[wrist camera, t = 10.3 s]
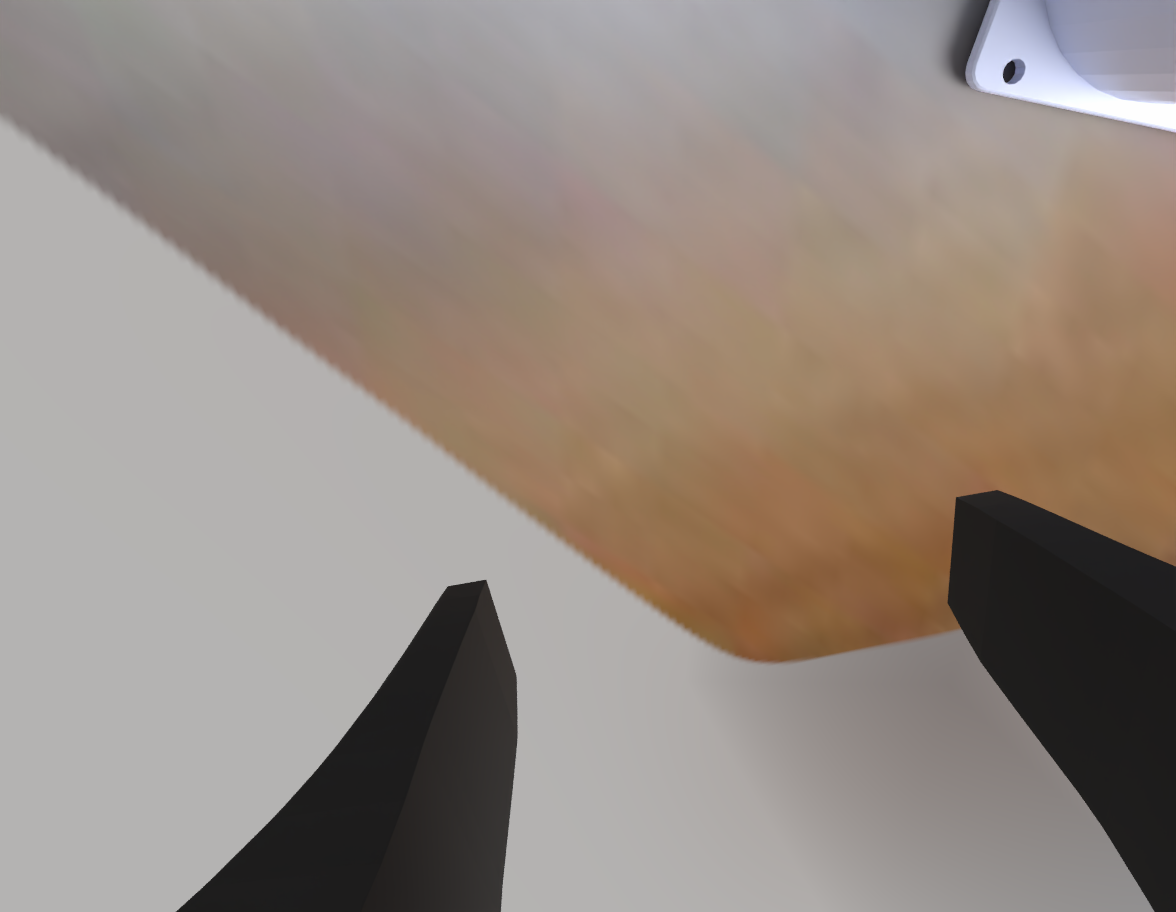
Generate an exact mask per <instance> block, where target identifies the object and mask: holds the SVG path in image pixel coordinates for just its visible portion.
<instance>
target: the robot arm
mask: <svg viewBox="0 0 1176 912" xmlns="http://www.w3.org/2000/svg"><path fill="white" fill-rule="evenodd" d="M1011 60H1012V61H1013V62H1014V64H1015V67H1016V69H1015V74H1014V76H1013V77H1012V79H1011V80H1010V81H1009V82H1007V83H1006V82H1004V79H1003V70H1004V68H1005V66H1006V65H1007V63H1008V62H1010V61H1011ZM965 75H966V81H967V83H968V84H969V86H970V87H971V88H972V89H974V90H976V91H980V92H985V93H989V94H994V95H999V96H1004V97H1008V98H1013V99H1018V100H1023V101H1027V102H1032V103H1037V104H1042V105H1047V106H1051V107H1056V108H1061V109H1066V110H1070V111H1075V112H1080V113H1085V114H1089V115H1094V116H1099V117H1104V118H1108V119H1113V120H1118V121H1123V122H1127V123H1132V124H1137V125H1142V126H1146V127H1151V128H1156V129H1161V130H1165V131H1170V132H1175V133H1176V0H990V3H989V6H988V8H987V11H986V14H985V16H984V19H983V22H982V25H981V27H980V30H979V33H978V35H977V38H976V41H975V44H974V46H973V49H972V52H971V54H970V57H969V60H968V62H967V67H966V72H965ZM948 604H949V606H950V608H951V610H952V612H953V614H954V616H955V617H956V619H957V621H958V623H959V625H960V627H961V629H962V630H963V632H964V634H965V636H966V638H967V639H968V641H969V643H970V644H971V646H972V648H973V649H974V651H975V653H976V655H977V656H978V658H979V660H980V662H981V663H982V664H983V666H984V667H985V668H986V670H987V671H988V673H989V674H990V675H991V677H992V678H993V679H994V681H995V682H996V684H997V685H998V686H999V688H1000V689H1001V690H1002V692H1003V693H1004V694H1005V696H1006V697H1007V698H1008V700H1009V701H1010V702H1011V704H1012V705H1013V707H1014V708H1015V709H1016V711H1017V712H1018V713H1019V714H1020V716H1021V717H1022V718H1023V720H1024V721H1025V722H1026V724H1027V725H1028V726H1029V728H1030V729H1031V730H1032V732H1033V733H1034V734H1035V736H1036V737H1037V738H1038V740H1039V741H1040V742H1041V744H1042V745H1043V746H1044V748H1045V749H1046V750H1047V752H1048V753H1049V754H1050V756H1051V757H1052V758H1053V759H1054V761H1055V762H1056V764H1057V765H1058V766H1059V768H1060V769H1061V770H1062V771H1063V773H1064V774H1065V775H1066V777H1067V778H1068V779H1069V781H1070V782H1071V783H1072V785H1073V786H1074V787H1075V788H1076V790H1077V791H1078V793H1079V794H1080V795H1081V797H1082V798H1083V800H1084V801H1085V803H1086V804H1087V805H1088V807H1089V808H1090V810H1091V811H1092V813H1093V814H1094V815H1095V817H1096V818H1097V820H1098V821H1099V822H1100V824H1101V825H1102V827H1103V828H1104V830H1105V832H1106V833H1107V835H1108V836H1109V838H1110V840H1111V841H1112V843H1113V844H1114V846H1115V848H1116V849H1117V851H1118V853H1119V854H1120V856H1121V857H1122V859H1123V861H1124V862H1125V864H1126V866H1127V867H1128V869H1129V870H1130V872H1131V874H1132V875H1133V877H1134V879H1135V880H1136V882H1137V883H1138V885H1139V887H1140V888H1141V890H1142V892H1143V893H1144V895H1145V896H1146V898H1147V900H1148V901H1149V903H1150V905H1151V906H1152V908H1153V910H1154V911H1155V912H1176V567H1175V566H1173V565H1171V564H1168V563H1166V562H1163V561H1161V560H1159V559H1156V558H1154V557H1152V556H1149V555H1147V554H1144V553H1142V552H1140V551H1138V550H1135V549H1133V548H1131V547H1128V546H1126V545H1124V544H1121V543H1119V542H1117V541H1115V540H1112V539H1110V538H1108V537H1106V536H1103V535H1101V534H1099V533H1097V532H1094V531H1092V530H1090V529H1088V528H1085V527H1083V526H1081V525H1079V524H1076V523H1074V522H1072V521H1070V520H1067V519H1065V518H1063V517H1061V516H1058V515H1056V514H1054V513H1052V512H1049V511H1047V510H1045V509H1043V508H1040V507H1038V506H1036V505H1033V504H1031V503H1029V502H1026V501H1024V500H1022V499H1019V498H1017V497H1014V496H1012V495H1009V494H1006V493H1004V492H1001V491H998V490H996V491H990V492H984V493H978V494H973V495H967V496H961V497H956V505H955V518H954V530H953V543H952V555H951V568H950V580H949V593H948ZM516 748H517V679H516V673H515V670H514V666H513V663H512V660H511V657H510V654H509V651H508V647H507V644H506V641H505V638H504V635H503V632H502V628H501V625H500V622H499V619H498V616H497V613H496V609H495V606H494V603H493V600H492V597H491V594H490V590H489V587H488V584H487V581H486V580H482V581H476V582H470V583H465V584H459V585H453V586H448V587H447V588H446V590H445V591H444V593H443V594H442V595H441V597H440V598H439V600H438V601H437V603H436V604H435V606H434V607H433V609H432V611H431V612H430V614H429V616H428V617H427V618H426V620H425V622H424V623H423V625H422V626H421V628H420V629H419V631H418V632H417V634H416V635H415V637H414V639H413V640H412V642H411V643H410V645H409V646H408V648H407V649H406V651H405V652H404V654H403V655H402V657H401V658H400V660H399V661H398V663H397V664H396V665H395V667H394V668H393V670H392V671H391V673H390V674H389V676H388V677H387V678H386V680H385V681H384V683H383V684H382V686H381V687H380V689H379V690H378V691H377V693H376V694H375V696H374V697H373V698H372V700H371V701H370V703H369V704H368V705H367V707H366V708H365V709H364V711H363V712H362V713H361V714H360V716H359V717H358V718H357V720H356V721H355V722H354V724H353V725H352V726H351V728H350V729H349V730H348V731H347V733H346V734H345V735H344V737H343V738H342V739H341V741H340V742H339V743H338V745H337V746H336V747H335V749H334V750H333V751H332V752H331V753H330V754H329V756H328V757H327V758H326V759H325V761H324V762H323V763H322V764H321V765H320V767H319V768H318V769H317V770H316V771H315V772H314V774H313V775H312V776H311V777H310V778H309V779H308V780H307V781H306V783H305V784H304V785H303V786H302V787H301V788H300V789H299V791H298V792H297V793H296V794H295V795H294V796H293V797H292V798H291V799H290V800H289V801H288V803H287V804H286V805H285V806H284V807H283V808H282V809H281V810H280V811H279V812H278V813H277V815H275V817H274V818H273V819H272V820H271V821H270V822H269V823H268V824H267V825H266V826H265V827H264V828H263V829H262V830H261V831H260V832H259V833H258V834H257V835H256V836H255V837H254V838H253V839H252V840H251V841H250V842H249V843H248V844H247V845H246V846H245V847H244V848H243V849H242V850H241V851H239V853H238V854H236V855H235V856H234V857H233V858H232V859H231V860H230V861H229V862H228V863H227V864H226V865H225V866H224V868H223V869H221V870H220V871H219V872H218V873H217V874H216V876H214V877H213V878H212V879H211V880H210V881H209V882H208V883H207V884H206V885H205V886H204V887H203V888H202V889H201V890H200V891H198V892H197V893H196V894H195V895H194V896H193V897H192V898H191V899H190V900H188V901H187V902H186V903H185V904H184V905H183V906H182V907H181V908H180V909H179V910H177V911H176V912H501V899H502V885H503V874H504V866H505V856H506V845H507V837H508V827H509V818H510V808H511V798H512V789H513V779H514V769H515V758H516Z"/></svg>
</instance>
